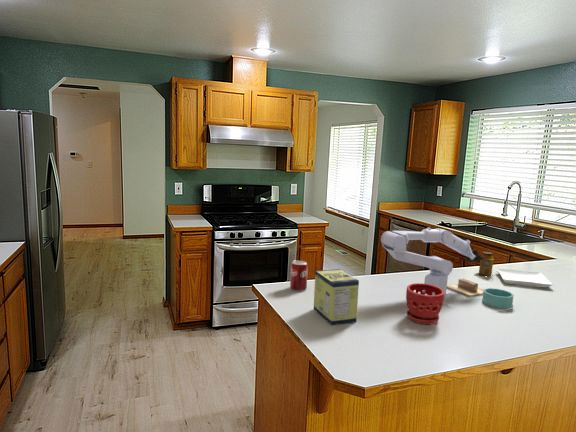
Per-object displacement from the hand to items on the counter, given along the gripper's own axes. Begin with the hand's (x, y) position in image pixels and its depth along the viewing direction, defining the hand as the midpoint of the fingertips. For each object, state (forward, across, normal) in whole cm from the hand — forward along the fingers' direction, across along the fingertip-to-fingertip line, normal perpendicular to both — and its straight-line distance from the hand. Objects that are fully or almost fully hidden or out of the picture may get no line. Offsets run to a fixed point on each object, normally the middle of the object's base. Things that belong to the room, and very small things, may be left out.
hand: (476, 254), depth 188 cm
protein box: (-64, -29, +39) cm, 80 cm away
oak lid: (+1, -9, +14) cm, 17 cm away
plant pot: (-36, -35, +22) cm, 55 cm away
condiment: (+28, +12, +11) cm, 33 cm away
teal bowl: (+2, -24, +8) cm, 26 cm away
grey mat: (+1, -9, +15) cm, 18 cm away
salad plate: (+39, +2, +2) cm, 39 cm away
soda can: (-65, 0, +52) cm, 83 cm away
